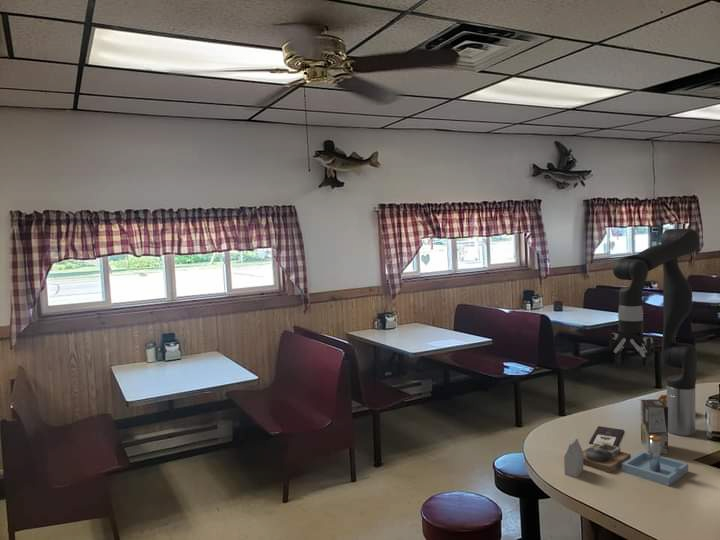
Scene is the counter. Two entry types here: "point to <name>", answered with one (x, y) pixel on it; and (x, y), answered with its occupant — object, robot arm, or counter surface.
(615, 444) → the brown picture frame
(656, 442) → the lock pin
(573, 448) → the grey house block
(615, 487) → the counter surface
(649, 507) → the counter surface
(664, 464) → the tray
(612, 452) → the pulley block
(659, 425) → the coffee box
